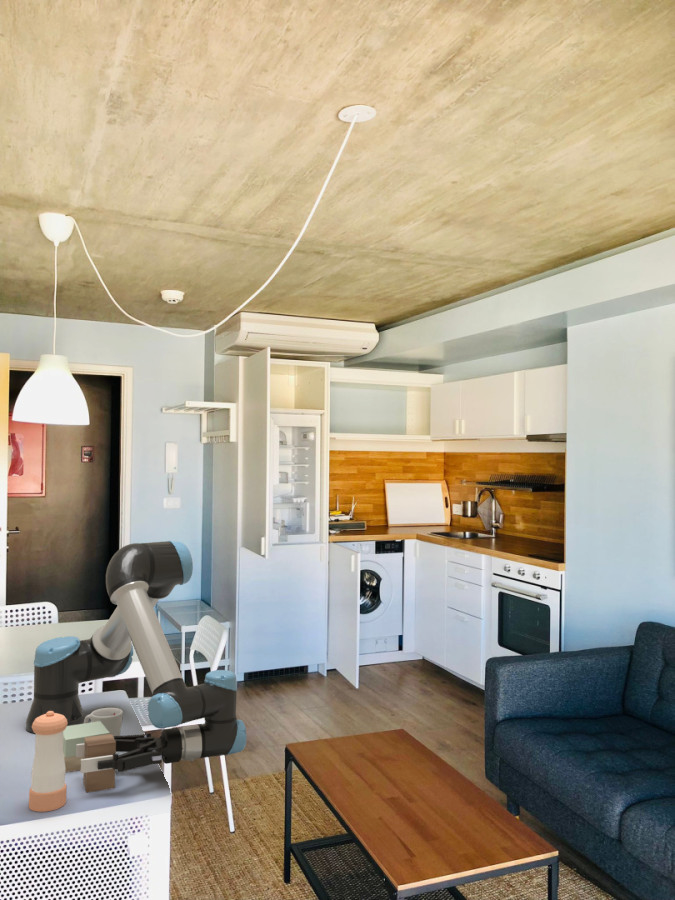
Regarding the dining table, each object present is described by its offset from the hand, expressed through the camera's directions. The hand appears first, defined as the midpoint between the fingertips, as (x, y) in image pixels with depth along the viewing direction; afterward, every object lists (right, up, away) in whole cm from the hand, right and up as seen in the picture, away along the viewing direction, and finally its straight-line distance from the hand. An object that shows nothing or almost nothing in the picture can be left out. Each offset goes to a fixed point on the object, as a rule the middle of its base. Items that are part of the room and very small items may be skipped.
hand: (78, 758), depth 163 cm
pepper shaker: (-3, -6, -9) cm, 11 cm away
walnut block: (+4, -7, +2) cm, 8 cm away
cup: (-4, -8, +29) cm, 30 cm away
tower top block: (-4, -4, +15) cm, 16 cm away
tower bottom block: (-4, -8, +15) cm, 18 cm away
